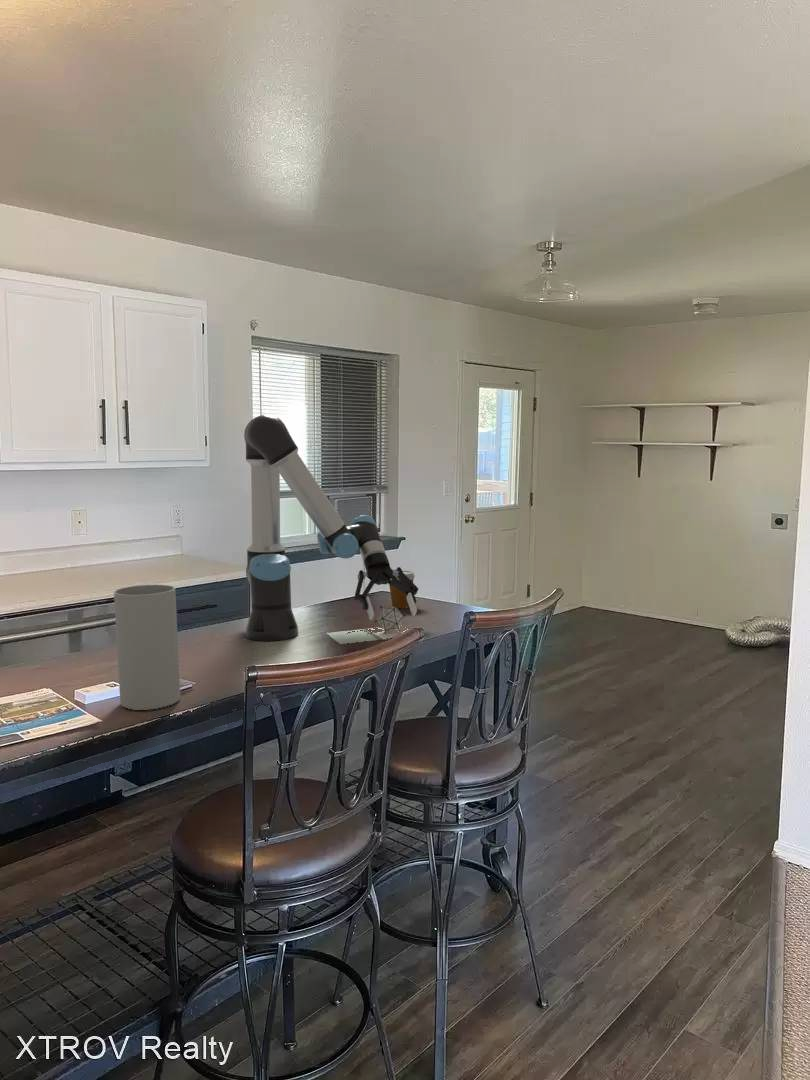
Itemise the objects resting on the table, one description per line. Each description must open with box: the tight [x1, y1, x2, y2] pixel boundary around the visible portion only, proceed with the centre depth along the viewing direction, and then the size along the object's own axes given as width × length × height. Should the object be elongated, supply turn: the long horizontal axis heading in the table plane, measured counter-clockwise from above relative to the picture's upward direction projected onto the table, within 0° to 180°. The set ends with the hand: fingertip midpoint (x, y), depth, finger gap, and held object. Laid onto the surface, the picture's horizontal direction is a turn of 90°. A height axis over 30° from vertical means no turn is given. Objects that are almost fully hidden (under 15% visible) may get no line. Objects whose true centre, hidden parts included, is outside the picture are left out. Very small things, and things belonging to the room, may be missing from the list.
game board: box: [325, 627, 408, 645], centre depth 230 cm, size 24×14×1 cm, turn 112°
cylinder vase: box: [113, 584, 181, 711], centre depth 169 cm, size 12×12×25 cm
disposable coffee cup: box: [388, 570, 416, 609], centre depth 269 cm, size 10×10×12 cm
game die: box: [373, 604, 407, 633], centre depth 232 cm, size 9×8×10 cm
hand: (393, 615), depth 231 cm, fingers open, 13 cm apart
